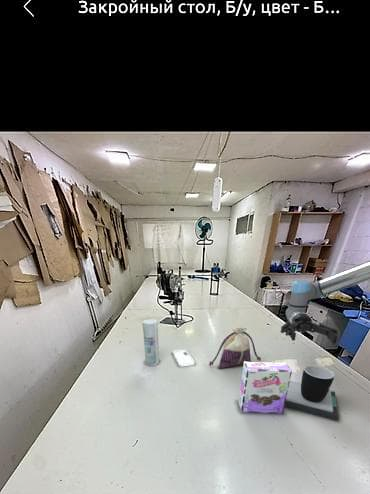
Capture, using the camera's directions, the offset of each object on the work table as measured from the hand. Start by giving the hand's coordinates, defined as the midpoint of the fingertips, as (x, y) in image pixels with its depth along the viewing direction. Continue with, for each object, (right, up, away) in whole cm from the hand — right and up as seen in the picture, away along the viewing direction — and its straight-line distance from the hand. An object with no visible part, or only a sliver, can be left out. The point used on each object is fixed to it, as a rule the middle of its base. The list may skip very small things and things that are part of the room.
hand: (314, 338), depth 84 cm
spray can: (-62, -10, +26) cm, 67 cm away
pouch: (-24, -11, +24) cm, 35 cm away
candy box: (-21, -24, -4) cm, 32 cm away
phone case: (-47, -9, +29) cm, 56 cm away
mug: (-2, -20, -2) cm, 20 cm away
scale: (-2, -22, 0) cm, 22 cm away
